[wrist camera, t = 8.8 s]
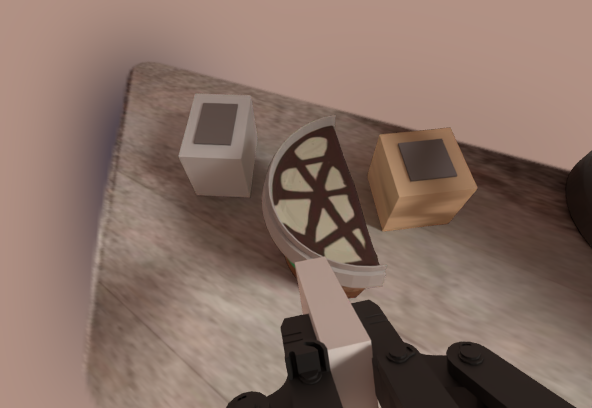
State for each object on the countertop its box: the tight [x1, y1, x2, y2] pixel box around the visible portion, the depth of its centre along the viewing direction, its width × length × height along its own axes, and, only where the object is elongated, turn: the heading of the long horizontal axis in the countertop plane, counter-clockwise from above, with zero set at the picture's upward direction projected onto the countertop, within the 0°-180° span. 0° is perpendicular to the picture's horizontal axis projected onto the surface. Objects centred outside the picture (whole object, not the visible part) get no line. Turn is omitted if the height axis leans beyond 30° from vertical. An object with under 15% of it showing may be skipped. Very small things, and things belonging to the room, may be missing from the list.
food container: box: [262, 114, 387, 298], centre depth 26 cm, size 12×6×10 cm, turn 11°
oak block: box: [367, 128, 477, 231], centre depth 30 cm, size 6×6×6 cm
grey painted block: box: [178, 93, 258, 197], centre depth 32 cm, size 5×7×6 cm
